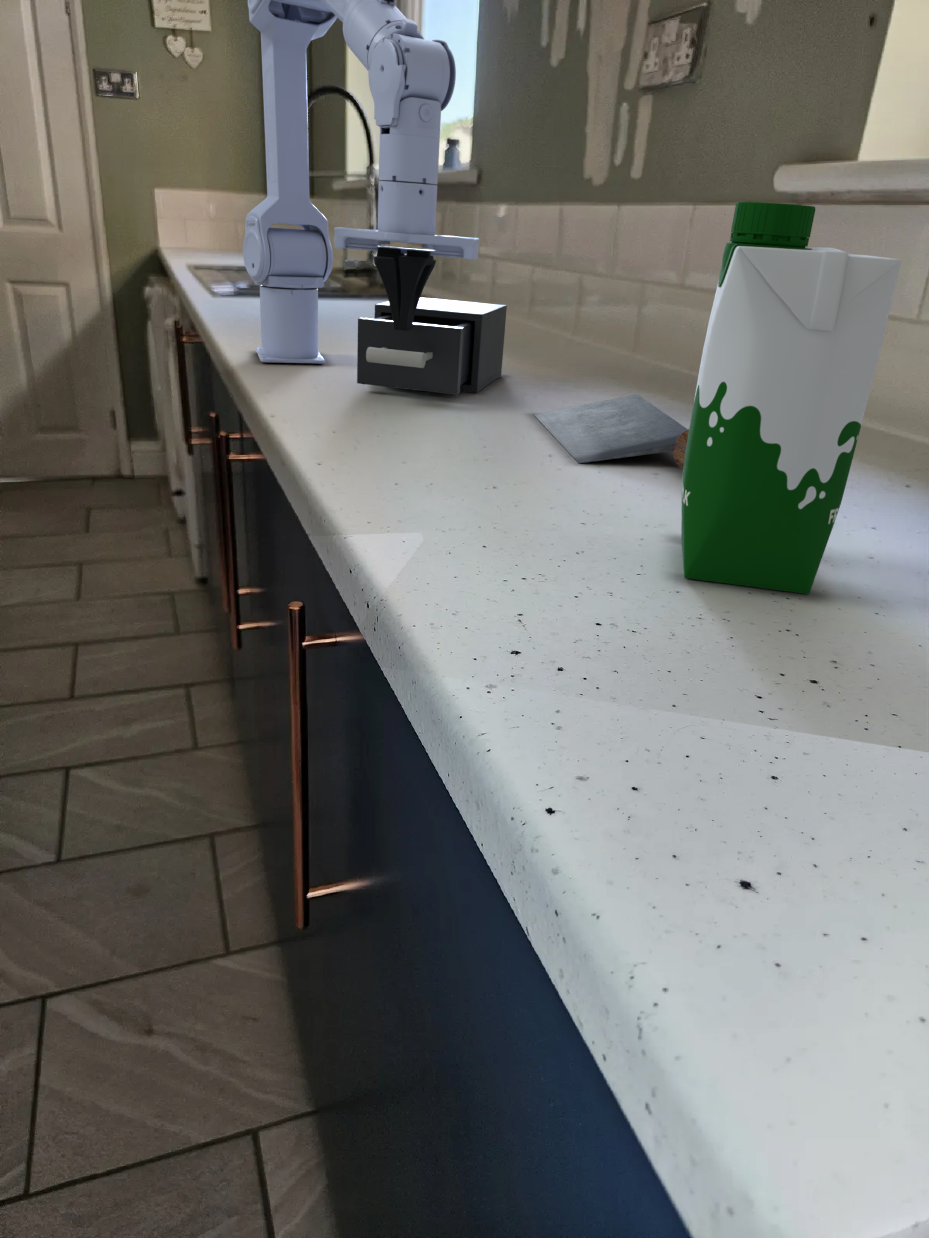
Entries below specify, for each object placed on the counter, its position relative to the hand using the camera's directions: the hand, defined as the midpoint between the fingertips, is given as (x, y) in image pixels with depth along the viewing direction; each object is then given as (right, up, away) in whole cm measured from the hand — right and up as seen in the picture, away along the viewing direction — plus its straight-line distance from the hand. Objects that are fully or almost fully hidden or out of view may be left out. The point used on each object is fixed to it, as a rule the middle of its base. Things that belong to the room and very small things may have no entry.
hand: (402, 329), depth 90 cm
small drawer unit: (+3, 0, +17) cm, 17 cm away
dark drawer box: (+1, -4, +8) cm, 8 cm away
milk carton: (+24, -27, -37) cm, 51 cm away
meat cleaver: (+21, -16, -14) cm, 30 cm away
